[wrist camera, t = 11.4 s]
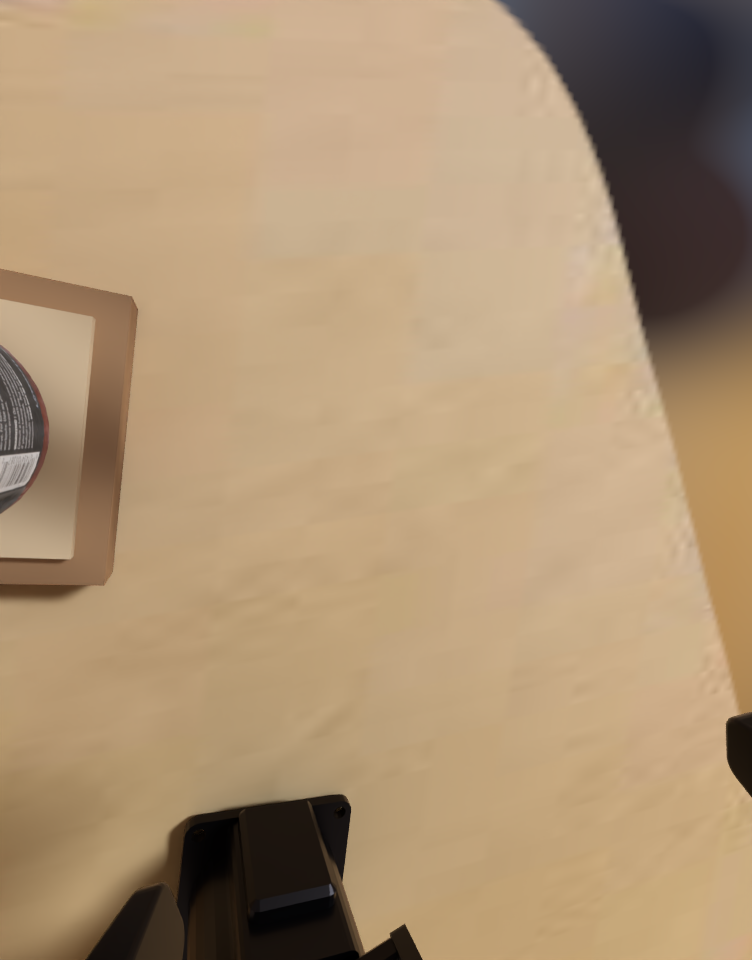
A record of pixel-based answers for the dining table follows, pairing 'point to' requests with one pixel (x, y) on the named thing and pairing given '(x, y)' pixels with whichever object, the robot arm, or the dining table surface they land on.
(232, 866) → the robot arm
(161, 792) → the dining table surface
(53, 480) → the wooden square coaster
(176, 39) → the dining table surface
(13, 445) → the supplement bottle
